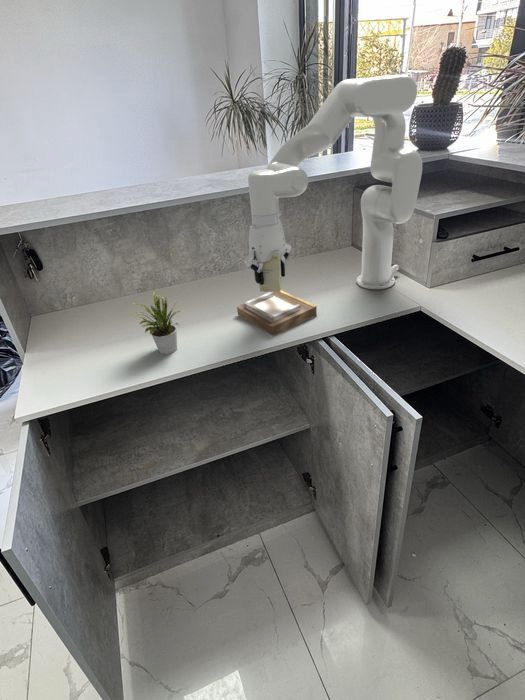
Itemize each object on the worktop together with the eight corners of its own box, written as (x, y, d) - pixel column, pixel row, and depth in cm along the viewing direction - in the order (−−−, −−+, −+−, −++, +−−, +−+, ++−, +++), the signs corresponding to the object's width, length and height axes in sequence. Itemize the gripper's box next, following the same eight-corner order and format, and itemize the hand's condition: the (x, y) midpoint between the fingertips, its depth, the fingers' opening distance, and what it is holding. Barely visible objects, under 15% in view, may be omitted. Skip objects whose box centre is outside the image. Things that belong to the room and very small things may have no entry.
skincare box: (259, 292, 129) (255, 252, 122) (262, 286, 132) (258, 247, 126) (281, 292, 127) (278, 252, 121) (282, 285, 131) (280, 246, 125)
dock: (279, 297, 146) (278, 285, 143) (316, 315, 133) (316, 302, 130) (237, 315, 138) (236, 302, 135) (272, 335, 125) (271, 322, 123)
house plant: (136, 343, 128) (122, 293, 120) (182, 330, 133) (171, 281, 124) (146, 367, 117) (130, 313, 108) (195, 352, 121) (184, 299, 112)
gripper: (281, 209, 125) (285, 267, 135) (231, 224, 117) (239, 285, 127) (298, 213, 120) (301, 274, 130) (247, 229, 112) (254, 292, 121)
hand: (270, 279), depth 128 cm, fingers closed on skincare box, 7 cm apart
